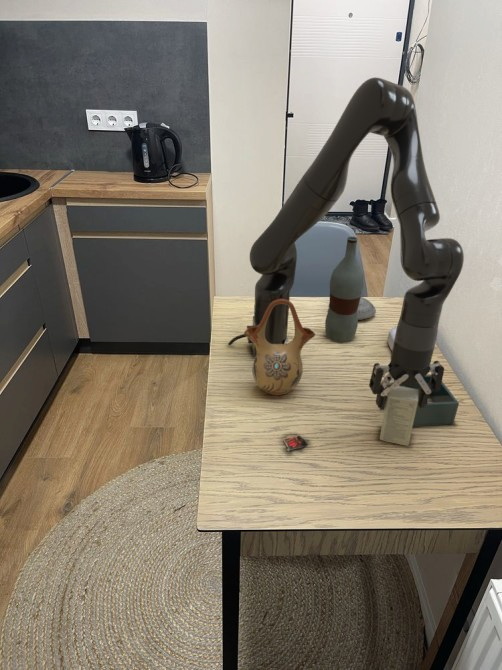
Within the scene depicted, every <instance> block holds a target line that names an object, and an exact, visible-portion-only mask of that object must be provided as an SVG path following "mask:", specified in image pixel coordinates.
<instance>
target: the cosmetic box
mask: <svg viewBox="0 0 502 670" xmlns="http://www.w3.org/2000/svg"><path fill="white" fill-rule="evenodd" d="M386 396H387V399H386V404H385V409H384V410H383V411H384V412H383V417H382V422H381V429H380V434H379V440H380V441H384V442H388V443H393V444H397V445H401V446H406V447H409V445H410V440H411V437H412V436H411V435H412V430H413V427H414V426H413V422H414V417H415V413H416V408H417V404H418V396H419V390H418V389H413V388H408V387H403V386H398V387H397V388H395V389H394V390H391V391H390V392H389V393H388V394H387V395H386Z"/></svg>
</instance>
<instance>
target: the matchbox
mask: <svg viewBox="0 0 502 670" xmlns="http://www.w3.org/2000/svg"><path fill="white" fill-rule="evenodd" d="M282 440H283V443H284V444H285V446H286V447H287V448H286V451H287V452H288V453H290V451H293V450H297V449H301V448H304V447H306V446H309V444H308V442H307V441H306V439H305V438H304V437H302V436H301V435H296V434H294V433H292V434H289V435H287V436H286V437H284V438H282Z"/></svg>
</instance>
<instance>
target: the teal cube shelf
mask: <svg viewBox="0 0 502 670" xmlns="http://www.w3.org/2000/svg"><path fill="white" fill-rule="evenodd" d="M423 379H424V380H425V382H426V383H430V379H431V374H427V375H426V376H425V377H423ZM399 386H400V385H399ZM403 387H408V388H413V389H418V390H419V389H420V388H422V387H421V386H420V384H419V383H417V384H415V385H405V386H403ZM429 397H430V398H431V399H432V400H433V402H427V404H426V405H424V408H419V406H418V404H417V408H416V413H415V417H414V422H413V427H428V426H429V427H430V426H446V425H454V423H455V419H456V416H457V412H458V409H459V405H460V402H459V401H458V399H456V397H455V396H454V395H453V393H452V392H451V390H450V389H449V388H448V387H447V386H446V383H444V381H442V383H441V389H440V390H439V391H432V392H431V393H430V394H429Z"/></svg>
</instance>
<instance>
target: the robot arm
mask: <svg viewBox="0 0 502 670" xmlns="http://www.w3.org/2000/svg"><path fill="white" fill-rule="evenodd" d="M370 133H371V134H373V135H378V136H382V137H383V138H384V140H385V141H386V143H387V145H388V148H389V149H390V152H391V156H392V157H391V158H392V172H391V177H390V178H391V179H390V186H389V187H390V198H391V201H392V205H393V208H394V211H395V214H396V219H397V221H398V224H399V239H400V242H399V243H400V264H401V269H402V270H403V272H404V274H405V275H406V276H407V277H408V278H409V279H410V280H413V281H416V282H420V283H419V284H417V285H414V286H412V287H409V288H408V289H407V290H406V291H405V294H404V297H403V301H402V305H401V309H400V315H399V319H398V322H397V325H396V326H397V329H396V334H395V339H394V344H393V349H392V351H391V355H390V362H389V363H388V365H381V364H380V363H379V362H375V363H374V364H373V366H372V367H373V368H372V371H371V375H370V380H369V383H368V388H370V391H371V392H372V394H373V395H376V397H375V404H376V406H377V408H378V409H379V410H380V411H384V410H385V405H386V399H387V394H388V393H389V392H390V391H391V390H394V389H395V388H397V387H398V386H399V385H400V386H405V385H415V384H417V383H419V384H420V386H421V387H422V388H420V389H419V396H418V406H419V408H424V405H426V404H427V403H429V397H430V396H429V394H430V393H431V392H432V391H439V390H440V389H441V383H442V382H443V377H444V373H445V372H444V371H445V367H444V366H443V364H441V362H440V361H439V360H434V361H433V363H432V362H431V361H432V359H433V355H434V351H435V347H436V344H437V343H436V342H437V340H438V339H437V338H438V334H439V324H440V320H441V315H442V311H443V307H444V304H445V301H446V300H447V298H448V296H449V295H450V293H451V291H452V290H453V288H454V286H455V284H456V282H457V281H458V279H459V277H460V275H461V272H462V270H463V267H464V263H465V262H464V261H465V255H464V250H463V247H462V245H461V243H460V242H459V241H457V240H456V239H455V238H451V237H450V238H449V237H440V238H433V239H431V238H430V239H427V238H426V233H425V232H427V231H430V230H432V229H434V227H436V226H437V225H438V224H439V222H440V219H441V215H440V210H439V207H438V203H437V200H436V197H435V195H434V192H433V189H432V186H431V183H430V181H429V177H428V174H427V173H428V172H427V170H426V165H425V161H424V154H423V150H422V142H421V136H420V130H419V123H418V114H417V109H416V104H415V100H414V97H413V94H412V93H411V92H410V90H409V89H407V88H406V87H405V86H403V85H400V84H399V83H395V82H392V81H389V80H387V79H384V78H381V77H376V76H375V77H371V78H367V80H364V81H363V82H362V83H361V84H360V85H359V86H358V88H357V89H356V90H355V92H354V93H353V95H352V96H351V98H350V100H349V101H348V103H347V105H346V106H345V108H344V110H343V112H342V114H341V115H340V118H339V119H338V121H337V123H336V124H335V126H334V129H333V130H332V132H331V133H330V135H329V137H328V138H327V140H326V141H325V143H324V145H323V146H322V147H321V149H320V151H319V152H318V154H317V155H316V157H315V158H314V160H313V161H312V163H311V164H310V166H308V168H307V169H306V171H305V172H304V174H303V175H302V177H301V178H300V180H299V181H298V182H297V184H296V185H295V187H294V189H292V192H291V193H290V195H289V196H288V198H287V199H286V201H285V202H284V203H283V205H282V207H281V209H280V210H279V211H278V213H277V215H276V216H275V217H274V219H273V220H272V221H271V222H270V224H269V225H268V226H267V227H266V229H265V230H264V231H263V232H262V233H261V234H260V235H259V236H258V237H257V239H256V240H255V241H254V242H253V244H252V245H251V248H250V251H249V262H250V265H251V268H252V269H253V271H255V272H256V273H258V274H259V275H261V276H260V277H259V279H258V280H257V282H256V283H255V285H254V306H253V308H254V309H253V316H252V325H246V329H248V328H250V327H253V326H256V327H257V326H258V325H259V324H260V322H261V321H262V319H263V316H264V314H265V312H266V310H267V308H268V306H269V305H270V303H271V302H273V301H274V300H277V299H286V300H288V301H290V298H291V290H292V288H293V286H294V283H295V276H296V269H297V261H298V260H297V258H298V249H297V245H296V242H297V241H298V240H299V239H300V238H301V237H302V236H304V234H306V233H307V232H308V231H309V230H311V229H312V228H313V227H314V226H315V225H316V224H317V223H319V222H320V221H321V220H322V219H324V218H325V216H326V215H327V214H328V213H329V212H330V211H331V209H332V208H333V207H334V205H335V204H336V203H337V202H338V200H339V199H340V198H341V196H342V195H343V193H344V191H345V189H346V186H347V181H348V177H349V176H348V175H349V167H350V162H351V159H352V157H353V155H354V153H355V152H356V150H357V149H358V147H359V146H360V144H361V143H362V142H363V140H364V139H365V138H366V137H367V136H368V135H369V134H370ZM289 312H290V308H289V306H287V305H285V304H277V305H275V306H274V307H273V309H272V311H271V313H270V315H269V317H268V320H267V324H266V328H265V338H266V340H267V341H268V342H269V343H271V344H288V341H289V336H288V327H289V314H290V313H289ZM243 338H247V343H248V344H249V345H250V344H251V347H252V353H253V356H254V357H255V356H256V346H255V345H254V343H253V342H252V341H251V340H250V339H249V338H248V337H247V336H246V335H245V334H244V333H243V334H239V335H237V336H235V337H233V338H232V339H231V340H230V341H229V342H228V343H227V345H228V346H232V345H233V344H234V343H235V342H236V341H238V340H240V339H243ZM430 372H431V374H430V375H431V379H430V383H426V382H425V380H424V379H423V377H425V376H426V375H429V373H430ZM392 380H393V382H392Z"/></svg>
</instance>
